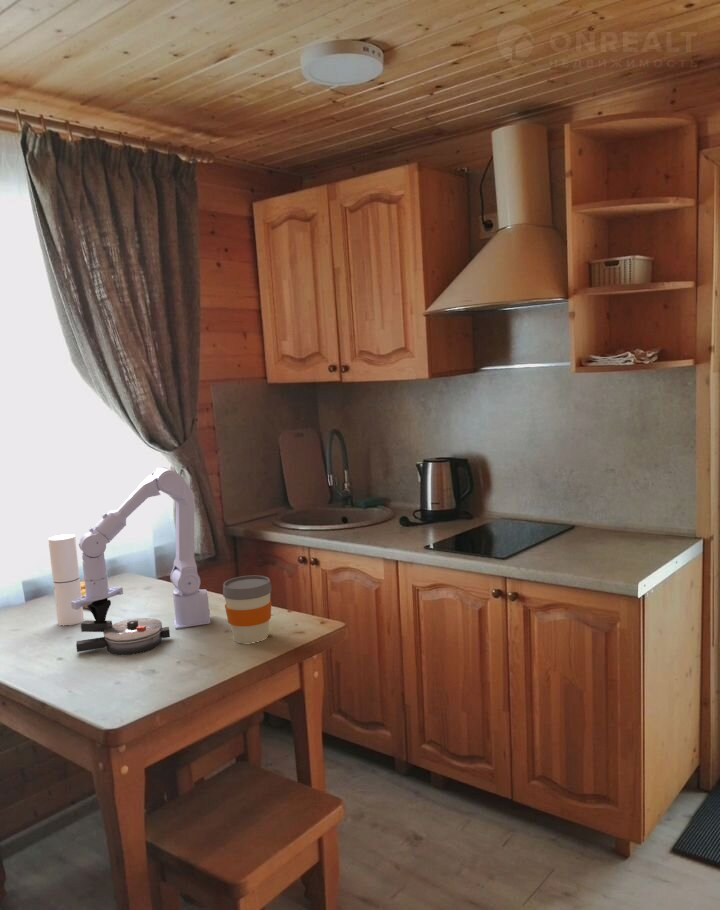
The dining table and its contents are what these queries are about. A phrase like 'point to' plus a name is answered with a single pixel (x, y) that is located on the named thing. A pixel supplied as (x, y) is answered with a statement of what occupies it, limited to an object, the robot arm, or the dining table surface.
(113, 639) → the pressure cooker lid
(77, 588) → the cylindrical container
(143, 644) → the pot
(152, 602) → the dining table surface
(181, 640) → the dining table surface
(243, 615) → the reusable coffee cup
